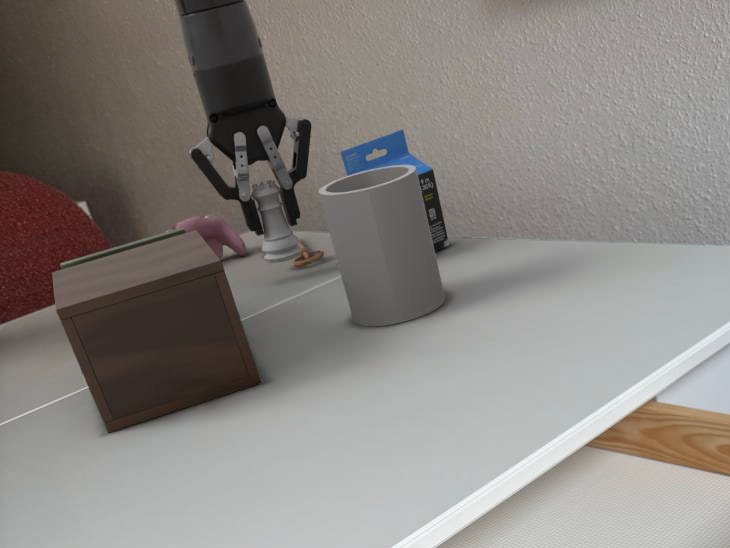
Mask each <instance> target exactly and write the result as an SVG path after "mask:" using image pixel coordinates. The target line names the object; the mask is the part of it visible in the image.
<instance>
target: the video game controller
mask: <svg viewBox="0 0 730 548" xmlns="http://www.w3.org/2000/svg"><path fill="white" fill-rule="evenodd" d="M179 228H184V230H185V232H186V233H188V232H191V231H195V230H197V231H198V233H199V234H200V235H201V236H202V238H203V239H204V240H205V241H206V242H207V244H208V245H209V246H210V247H211V249H212V250H213V251H214V252H215V254H216V255H217V256H218V257H219V259H220V260H222V259H221V258H222V257H223V255H224V246H225V247H228V248H229V249H230V250H232V251H233V252H234V253H236V254H237V255H239V256H243V257H245V256H246V255H247V254H248V253H247V252H248V251H247V250H248V249H247V246H246V242H245V241H244V239H243V238H242V237H241V236H240V234H238V232H237V231H236V230H235V229H234V228H233V227H232V225H230V224H229V223H228V222H227V221H226V220H225V219H224V218H222V217H219V216H217V215H216V214H215V213H210V214H208V215H203V216H199V215H195V216H192V217H188V218H187V219H184V220H181V221H179V222H177V223H176V224H174V226H172V227H170V228H168V229H166V231H165V232H164V233H166V232H169V231H172V230H176V229H179Z"/></svg>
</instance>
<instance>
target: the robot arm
mask: <svg viewBox="0 0 730 548" xmlns="http://www.w3.org/2000/svg"><path fill="white" fill-rule="evenodd" d="M173 4H174V6H175V10H176V13H177V15H178V20H179V26H180V31H181V36H182V41H183V45H184V48H185V53H186V55H187V58H188V62H189V65H190V68H191V72H192V74H193V78H194V81H195V85H196V88H197V91H198V94H199V95H198V96H199V98H200V101H201V104H202V107H203V108H202V109H203V111H204V114H205V117H206V122H207V127H206V137H205V138H203V140H201V141H200V142H198V143H197V144H196V145H194V146H190V147H189V149H188V151H187V152H188V156H189V157H190V159H191V160H192V161H193V162H194V164H196V166H197V168H198V169H199V170H200V172H201V173H202V174H203V175H204V177H205V178H206V179H207V180H208V182H209V183H210V184H211V185H212V187H213V188H214V190H215V191H216V192H217V193H218V194H219V196H220V197H222V199H224V200H225V201H229V200H232V201H238V203H239V206H240V208H241V212H242V215H243V218H244V222H245V225H246V227H247V228H248V230H249V231H250V232H252V233H253V232H254V234H255V235H256V236H257V237H259V236H264V229H263V224H262V221H261V217H260V214H259V211H258V210H257V209H258V207H257V204H256V202H255V201H256V200H255V199H254V198H253V197H252V196H251V195H252V194H251V185H250V172H249V171H250V170H249V166H251V165H253V164H254V163H257V162H266V163H267V164H268V166H269V168H270V170H271V171H272V174H273V176H274V178H275V180H276V182H277V184H278V185H279V186H278V187H279V188H280V192H279V198H280V202H281V203H282V209H283V212H284V216H285V219H286V221H287V224H288V226H289V227H294V226H297V225H298V221H297V220H299V219H300V218H301V210H300V206H299V204H298V199H297V196H296V192H295V186H296V184H297V183H299V182H300V181H301V180H304V179H305V178H306V177H307V176H308V168H309V167H308V165H309V156H310V147H311V135H312V122H311V121H310V120H309V119H307V118H304V117H298V118H296V117H290V116H286V114H285V113H284V111H283V110H282V109H281V107H280V106H279V104H278V102H277V99H276V94H275V91H274V87H273V84H272V80H271V77H270V72H269V69H268V65H267V61H266V58H265V55H264V51H263V43H262V38H261V37H260V35H259V33H258V28H257V25H256V22H255V20H254V17H253V14H252V12H251V10H250V7H249V4H248V1H247V0H173ZM285 128H286V129H287V130H288V135H289V137H290V138H291V139H292V140H293V150H292V160H291V161H292V162H291V169H289V170H287V167H286V164H285V162H284V160H283V157H282V155H281V153H280V152H279V148H280V144H281V141H282V138H283V134H284V131H285ZM213 147H214V148H216V149H217V150H218V151H220V152H221V153H222V154H223V155H224V156H226V157H227V158H228V159H229V160H230V161H231V168H232V174H233V175H232V176H233V179H234V180H233V181H234V186H232V185H228V184H227V183H226V181H225V180H224V178H223V177H222V176H221V175H220V173H219V172H218V171H217V169H216V168H215V167H214V166H213V164H212V163H213V162H214V160H215V156H214V153H213Z"/></svg>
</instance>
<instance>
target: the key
mask: <svg viewBox="0 0 730 548" xmlns="http://www.w3.org/2000/svg"><path fill="white" fill-rule="evenodd" d="M298 246H300V247H301V248H302V251H301V254H300V255H299V256H298V257H296V258H295V259H294V261H293V262H292V266H294V267H297V268H299V267H305V266H308V265H311V264H313V263H315V262H318V261H319V260H321V259H322V258H323V257H324V256H325V252H324V251H323V250H313V251H310V252H309V250H308V249H307V248H306V247H305V246H304V245H303V243H302V242H301V240H300V241H299V243H298Z"/></svg>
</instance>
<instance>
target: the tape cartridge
mask: <svg viewBox="0 0 730 548" xmlns="http://www.w3.org/2000/svg"><path fill="white" fill-rule="evenodd" d="M374 150H377V151H383V150H385V151H386V153H385V154H384V155H381V156H377V157H375V158H372V159H370V160H367V156H369V155H371V154H374V153H373V152H374ZM340 157H341V161H342V163H343V166H344V170H345V173H346V176H349V175H352V174H355V173H359V172H363V171H367V170H371V169H376V168H381V167H387V166H395V165H413V166H415V167H416V170H417V174H418V179H419V183H420V188H421V192H422V197H423V201H424V205H425V210H426V214H427V219H428V223H429V228H430V232H431V237H432V241H433V246H434V250H435V252H436V251H439V250H441V249H444V248H446V247H449V246H450V242H449V237H448V236H449V235H448V232H447V227H446V223H445V218H444V213H443V210H442V205H441V204H442V203H441V200H440V195H439V191H438V186H437V185H438V184H437V181H436V177H435V171H434V169H433V168H432V167H431V166H430V165H428V164H427V163H425V162H423V161H422V160H419V159H418V158H417V157H415V156H414V155H412V154H411V153H410V151H409V148H408V144H407V140H406V136H405V131H404V129H398V130H396V131H394V132H391V133H389V134H386V135H383V136H380V137H378V138H375V139H372V140H369V141H366V142H364V143H361V144H357V145H356V146H352V147H350V148H347V149H344V150H341V151H340Z"/></svg>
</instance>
